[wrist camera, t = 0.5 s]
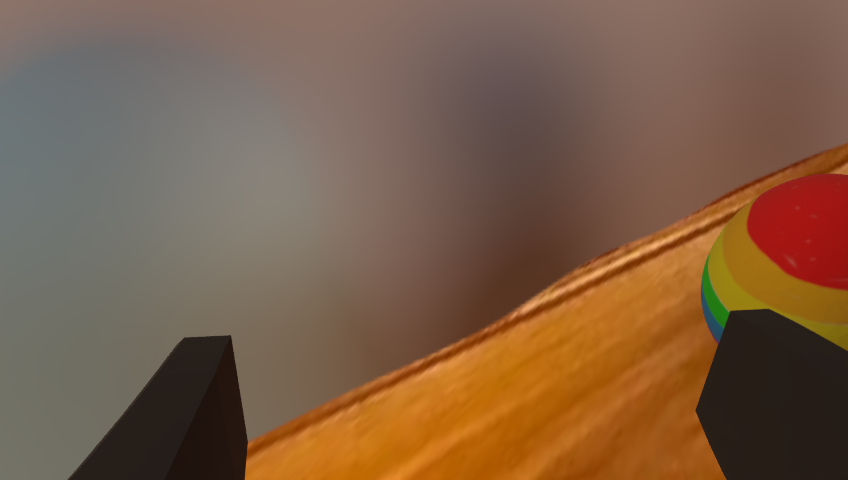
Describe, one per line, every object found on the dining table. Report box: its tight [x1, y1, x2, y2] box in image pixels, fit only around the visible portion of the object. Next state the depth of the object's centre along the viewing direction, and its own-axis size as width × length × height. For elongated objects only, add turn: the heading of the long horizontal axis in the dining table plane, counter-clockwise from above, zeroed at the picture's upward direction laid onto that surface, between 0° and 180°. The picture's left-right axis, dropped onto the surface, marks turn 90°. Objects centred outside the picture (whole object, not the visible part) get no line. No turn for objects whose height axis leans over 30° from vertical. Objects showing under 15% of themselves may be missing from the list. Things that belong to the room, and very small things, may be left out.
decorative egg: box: [701, 174, 848, 351], centre depth 28 cm, size 8×8×10 cm
